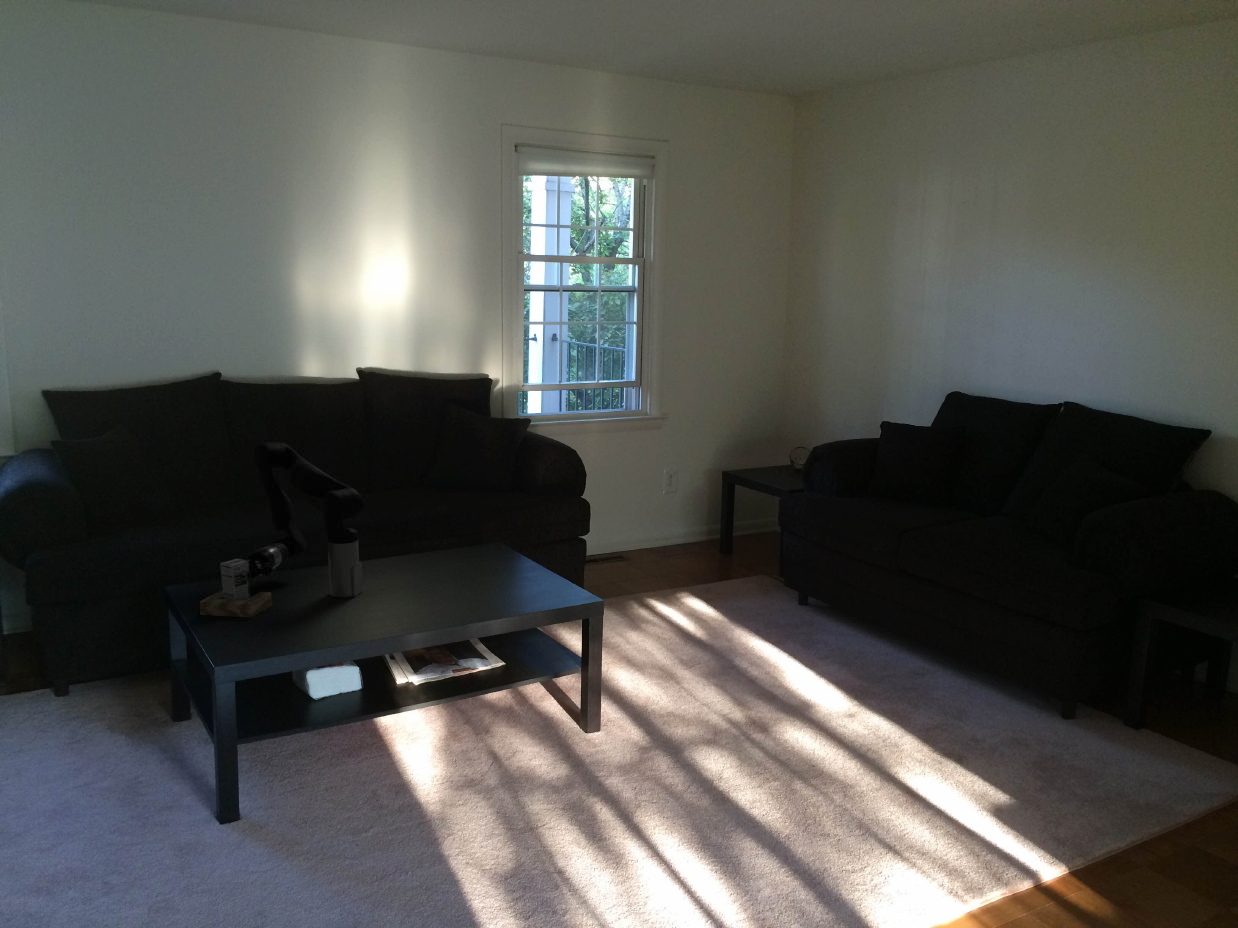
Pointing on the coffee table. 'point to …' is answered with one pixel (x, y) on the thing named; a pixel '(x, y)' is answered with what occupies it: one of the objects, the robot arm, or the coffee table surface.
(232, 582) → the syrup box
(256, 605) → the cradle
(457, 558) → the coffee table surface
